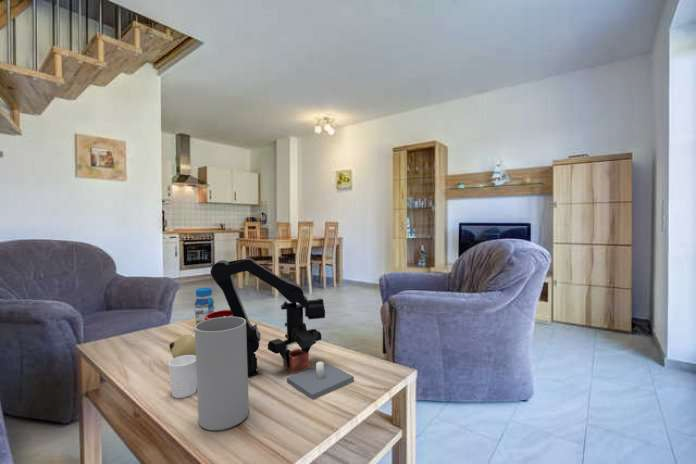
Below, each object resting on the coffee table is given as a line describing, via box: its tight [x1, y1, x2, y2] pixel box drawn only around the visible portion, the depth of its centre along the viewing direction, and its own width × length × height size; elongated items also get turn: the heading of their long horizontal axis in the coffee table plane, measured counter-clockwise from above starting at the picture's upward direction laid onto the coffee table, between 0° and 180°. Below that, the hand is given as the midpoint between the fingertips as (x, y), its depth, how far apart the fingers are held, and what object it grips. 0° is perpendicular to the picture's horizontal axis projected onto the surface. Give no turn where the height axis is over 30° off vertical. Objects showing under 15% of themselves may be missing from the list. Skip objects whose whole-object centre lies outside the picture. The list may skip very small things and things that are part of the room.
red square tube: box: [282, 347, 310, 375], centre depth 118 cm, size 6×6×5 cm
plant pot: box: [205, 309, 233, 320], centre depth 145 cm, size 13×13×12 cm
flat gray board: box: [286, 361, 355, 401], centre depth 108 cm, size 16×14×6 cm
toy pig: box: [168, 334, 196, 359], centre depth 124 cm, size 10×12×11 cm
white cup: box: [167, 355, 197, 399], centre depth 103 cm, size 8×8×10 cm
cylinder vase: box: [194, 316, 250, 431], centre depth 89 cm, size 12×12×25 cm
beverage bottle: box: [194, 287, 215, 326], centre depth 158 cm, size 8×8×20 cm
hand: (296, 364), depth 118 cm, fingers closed on red square tube, 6 cm apart
